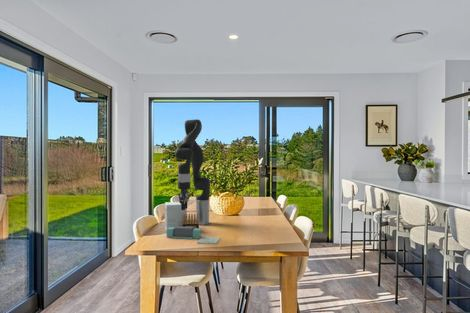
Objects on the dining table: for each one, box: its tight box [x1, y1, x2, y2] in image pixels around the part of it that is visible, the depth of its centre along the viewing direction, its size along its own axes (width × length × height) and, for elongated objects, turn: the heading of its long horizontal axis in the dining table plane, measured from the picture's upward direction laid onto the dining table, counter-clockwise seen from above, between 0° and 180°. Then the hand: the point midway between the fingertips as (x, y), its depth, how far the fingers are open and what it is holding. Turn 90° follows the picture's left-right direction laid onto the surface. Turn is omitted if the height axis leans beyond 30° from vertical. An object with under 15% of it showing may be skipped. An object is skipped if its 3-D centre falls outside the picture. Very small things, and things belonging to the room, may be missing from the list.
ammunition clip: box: [182, 212, 200, 229], centre depth 211 cm, size 11×2×12 cm, turn 96°
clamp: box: [166, 227, 202, 240], centre depth 197 cm, size 8×20×5 cm, turn 81°
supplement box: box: [164, 201, 188, 233], centre depth 218 cm, size 13×13×18 cm
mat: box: [196, 236, 221, 245], centre depth 189 cm, size 12×11×1 cm
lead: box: [174, 226, 194, 239], centre depth 198 cm, size 4×11×6 cm, turn 82°
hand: (184, 209), depth 197 cm, fingers open, 4 cm apart
